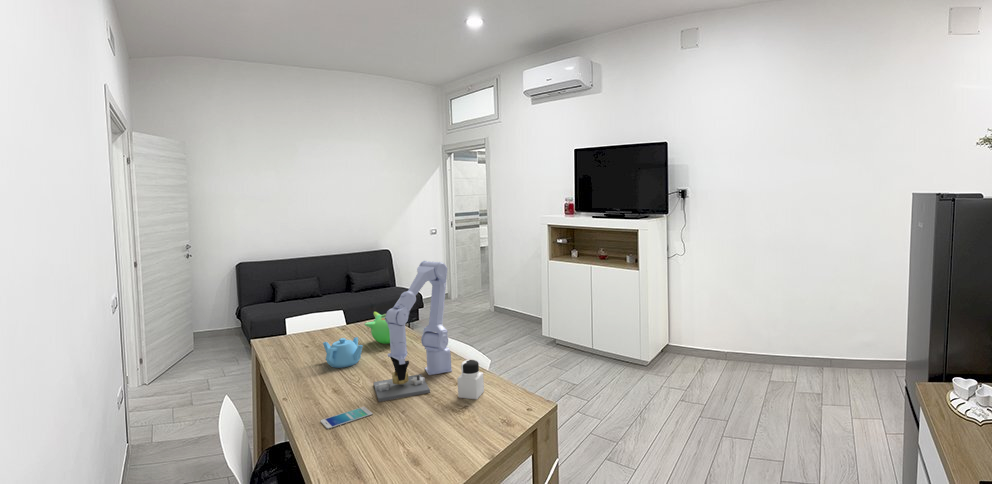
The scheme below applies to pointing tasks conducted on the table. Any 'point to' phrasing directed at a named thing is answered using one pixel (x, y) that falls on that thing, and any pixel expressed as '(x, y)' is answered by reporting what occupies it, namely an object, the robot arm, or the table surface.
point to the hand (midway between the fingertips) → (400, 377)
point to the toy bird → (379, 329)
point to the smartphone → (346, 417)
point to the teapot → (343, 353)
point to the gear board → (401, 388)
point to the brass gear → (396, 380)
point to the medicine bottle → (470, 380)
